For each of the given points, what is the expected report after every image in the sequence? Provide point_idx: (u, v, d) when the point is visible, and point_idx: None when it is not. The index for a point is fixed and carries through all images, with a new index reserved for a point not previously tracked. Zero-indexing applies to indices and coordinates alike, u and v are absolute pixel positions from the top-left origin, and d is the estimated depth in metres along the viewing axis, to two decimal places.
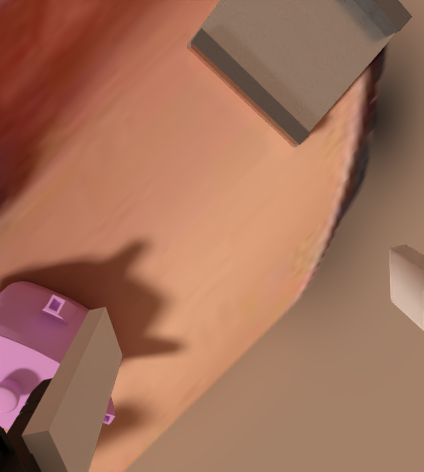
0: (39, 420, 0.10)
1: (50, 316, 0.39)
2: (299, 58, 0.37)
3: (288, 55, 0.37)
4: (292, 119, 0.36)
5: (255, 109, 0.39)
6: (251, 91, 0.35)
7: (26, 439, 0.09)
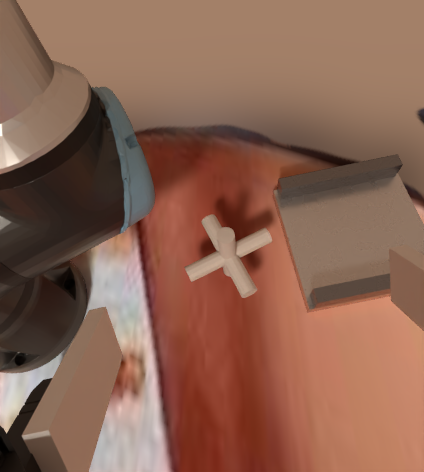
0: (39, 420, 0.10)
1: None
2: (374, 237, 0.41)
3: (366, 243, 0.41)
4: None
5: None
6: (386, 284, 0.36)
7: (26, 439, 0.09)
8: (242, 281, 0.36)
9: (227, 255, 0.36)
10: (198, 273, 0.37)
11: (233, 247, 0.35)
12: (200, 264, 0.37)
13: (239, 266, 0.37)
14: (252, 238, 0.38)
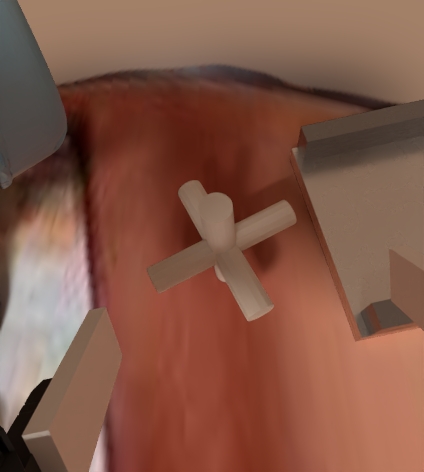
0: (39, 420, 0.10)
1: None
2: None
3: None
4: None
5: None
6: None
7: (26, 439, 0.09)
8: (247, 292, 0.20)
9: (220, 246, 0.20)
10: (170, 278, 0.21)
11: (230, 230, 0.19)
12: (173, 263, 0.21)
13: (241, 265, 0.21)
14: (264, 216, 0.22)
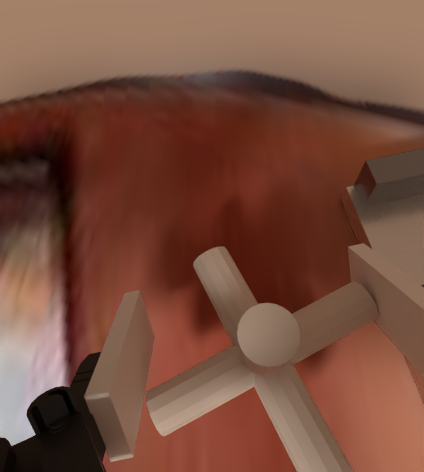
0: (98, 384, 0.11)
1: None
2: None
3: None
4: None
5: None
6: None
7: (88, 400, 0.10)
8: (312, 454, 0.12)
9: (266, 373, 0.13)
10: (182, 416, 0.13)
11: None
12: (188, 390, 0.14)
13: (298, 400, 0.13)
14: (329, 312, 0.14)
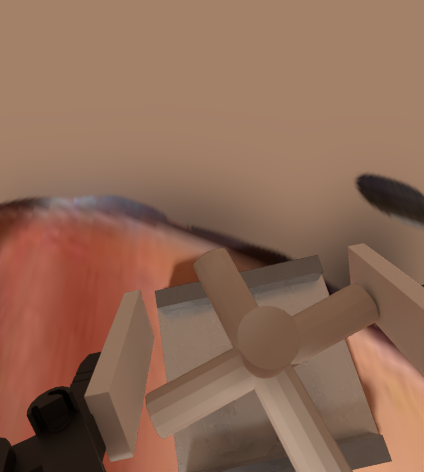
0: (98, 384, 0.11)
1: None
2: None
3: None
4: (351, 446, 0.25)
5: None
6: None
7: (88, 400, 0.10)
8: (313, 458, 0.12)
9: (266, 376, 0.12)
10: (182, 418, 0.13)
11: None
12: (188, 393, 0.13)
13: (299, 403, 0.13)
14: (330, 315, 0.14)
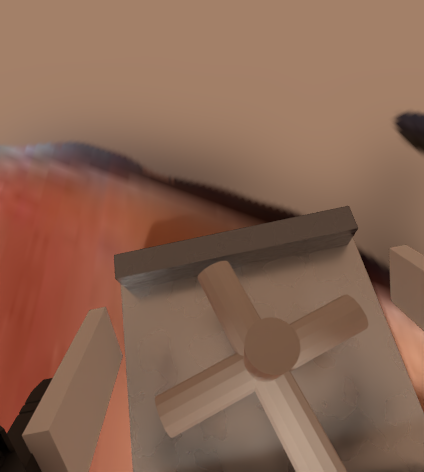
0: (39, 420, 0.10)
1: None
2: (297, 383, 0.20)
3: None
4: None
5: None
6: None
7: (26, 439, 0.09)
8: (309, 453, 0.13)
9: (267, 380, 0.14)
10: (189, 419, 0.15)
11: None
12: (195, 395, 0.15)
13: (296, 404, 0.14)
14: (324, 323, 0.16)
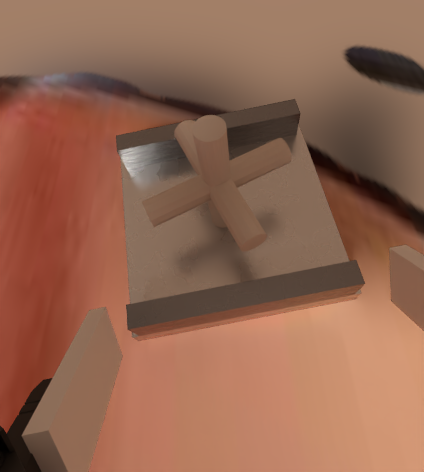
0: (39, 420, 0.10)
1: None
2: None
3: None
4: (320, 271, 0.22)
5: (270, 312, 0.24)
6: (243, 298, 0.22)
7: (26, 439, 0.09)
8: (241, 221, 0.20)
9: (214, 176, 0.21)
10: (164, 210, 0.21)
11: (223, 155, 0.19)
12: (168, 195, 0.22)
13: (235, 196, 0.21)
14: (259, 152, 0.22)
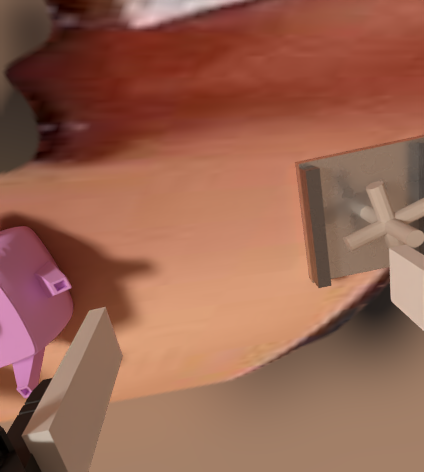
0: (39, 420, 0.10)
1: (41, 282, 0.40)
2: None
3: (354, 222, 0.44)
4: (327, 268, 0.43)
5: (306, 238, 0.45)
6: (316, 231, 0.41)
7: (26, 439, 0.09)
8: (360, 240, 0.38)
9: (389, 229, 0.37)
10: (374, 197, 0.37)
11: (399, 240, 0.36)
12: (383, 200, 0.37)
13: (375, 237, 0.38)
14: None
